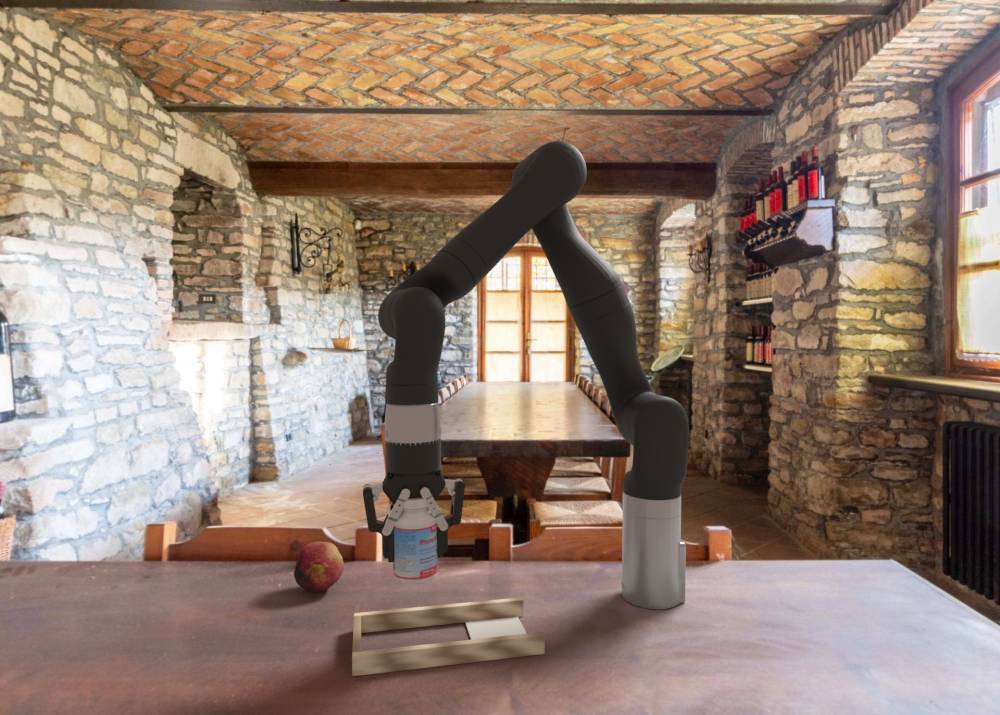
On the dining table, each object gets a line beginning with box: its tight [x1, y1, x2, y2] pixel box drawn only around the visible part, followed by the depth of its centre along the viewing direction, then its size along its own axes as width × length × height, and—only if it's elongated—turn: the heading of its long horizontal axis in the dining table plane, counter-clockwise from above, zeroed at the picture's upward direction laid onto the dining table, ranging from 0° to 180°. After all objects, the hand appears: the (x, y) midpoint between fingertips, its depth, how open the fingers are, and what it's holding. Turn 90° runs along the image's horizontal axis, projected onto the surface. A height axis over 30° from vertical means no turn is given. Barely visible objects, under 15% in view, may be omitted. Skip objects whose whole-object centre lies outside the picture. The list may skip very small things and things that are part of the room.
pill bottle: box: [392, 497, 439, 585], centre depth 81 cm, size 6×6×11 cm
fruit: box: [293, 541, 345, 593], centre depth 99 cm, size 8×8×8 cm
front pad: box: [464, 617, 527, 640], centre depth 84 cm, size 8×9×1 cm
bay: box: [351, 596, 546, 677], centre depth 82 cm, size 25×12×2 cm, turn 103°
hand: (415, 557), depth 81 cm, fingers closed on pill bottle, 6 cm apart
